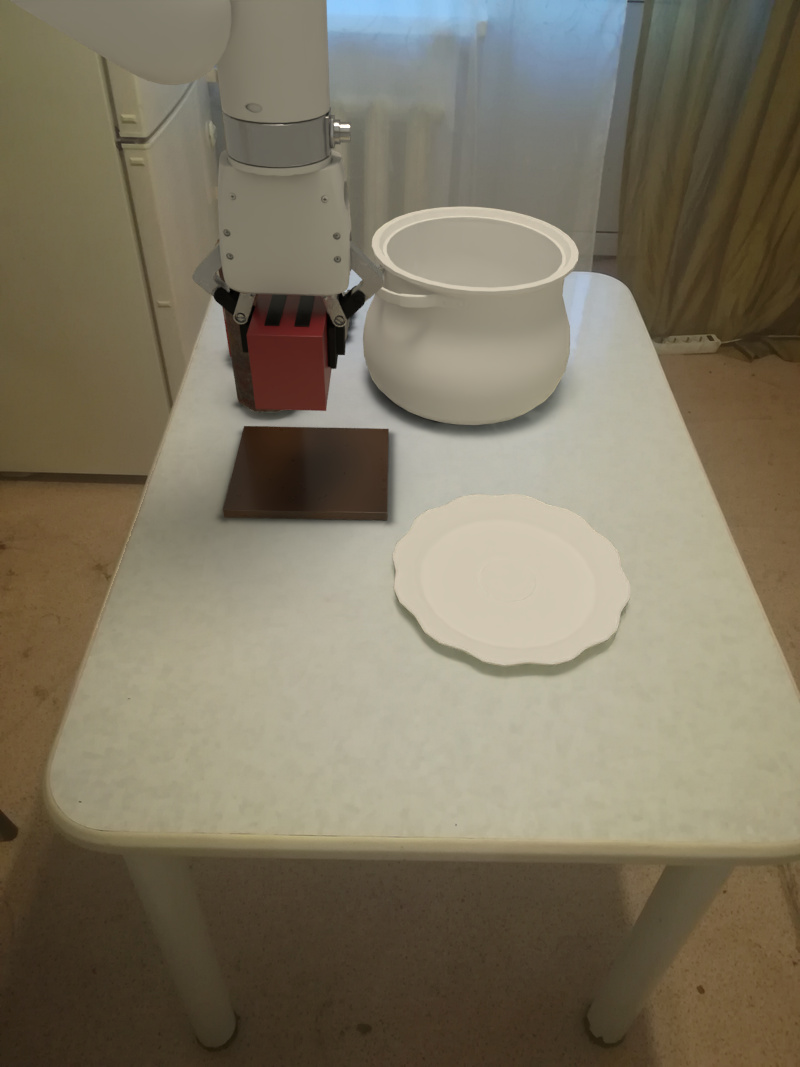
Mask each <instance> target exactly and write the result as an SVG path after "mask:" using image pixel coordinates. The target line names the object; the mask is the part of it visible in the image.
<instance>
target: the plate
mask: <svg viewBox="0 0 800 1067" xmlns="http://www.w3.org/2000/svg"><path fill="white" fill-rule="evenodd" d="M394 546H395V547H394V549H393V552H392V554H391V555H392V556H391V558H392V561H393V566H394V570H395V575H394V583H393V590H394V592H395V596H396V598H397V600H398V602H399V604H400V605H401V606H402V607H404V609H406V611H408V612H409V613H410V614H411V615H412V616H414V619H415V620H416V622H417V623H418V624H419V626H420V628H421V629H422V631H423V633H424V634H425V635H427V636H428V637H430V638H431V639H432V640H434V641H436V642H437V643H438V644H439V645H442V646H446V647H449V648H452V649H456V650H458V651H461V652H464V653H466V654H468V655H470V656H471V657H473V658H475V659H477V660H478V661H480V662H482V663H484V664H490V665H496V666H500V667H510V666H511V667H512V666H519V665H528V664H530V665H541V666H557V665H561V664H564V663H568V662H572V661H573V660H575V659H576V658H577V657H578V656H580V655H581V654H582V653H583V652H585V651H586V650H587V649H590V648H593V647H595V646H598V645H599V644H600V645H601V644H603V643H605V642H608V640H610V638H611V637H612V636H613V635H614V634H615V633H616V632H617V631H618V629H619V625H620V620H621V614H622V611H623V610H624V608H625V607H626V605H627V604H628V602H629V601H630V599H631V583H630V581H629V579H628V578H627V575H626V573H625V572H624V570H623V568H622V563H621V557H620V552H619V551H618V550H617V548H616V547H615V545H614V544H613V543H612V542H611V540H610V539H608V538H607V537H605V536H604V535H602V534H601V533H600V532H598V531H596V530H595V529H594V528H593V527H592V526H591V525H590V524H589V523H588V521H586V520H585V518H584V517H583V516H581V515H579V514H577V513H575V512H574V511H572V510H570V509H568V508H566V507H561V506H557V505H553V504H549V503H547V502H544V501H542V500H539V499H537V498H535V497H533V496H530V495H525V494H517V493H505V494H495V495H492V494H482V493H481V494H480V493H473V494H472V493H471V494H467V495H462V496H458V497H456V498H455V499H453V500H450V501H449V502H447V503H445V504H442V505H440V506H437V507H433V508H429V509H426V510H424V511H423V512H422V513H421V514H419V515H418V516H416V517H415V518H414V520H413V522H412V524H411V526H410V528H409V529H408V531H407V532H406V533H405V534H404V535H403V536H402V537H401V538H400V539H399V540H398V541H397V542H396V543H395V545H394Z"/></svg>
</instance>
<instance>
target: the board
mask: <svg viewBox="0 0 800 1067" xmlns="http://www.w3.org/2000/svg"><path fill="white" fill-rule="evenodd" d="M389 430H390V429H389V428H377V427H376V428H373V427H372V428H371V427H369V428H368V427H322V426H321V427H319V426H314V427H313V426H272V425H271V426H265V425H263V426H261V425H255V426H254V425H244V426H243V428H242V432H241V436H240V440H239V444H238V448H237V452H236V456H235V459H234V463H233V469H232V472H231V476H230V479H229V484H228V487H227V492H226V495H225V499H224V502H223V507H222V514H223V518H226V519H227V518H229V519H230V518H231V519H232V518H233V519H236V518H237V519H284V520H285V519H288V520H289V519H291V520H292V519H294V520H350V521H352V520H355V521H357V520H358V521H363V520H365V521H388V503H389V502H388V499H389V498H388V495H389V492H388V489H389V433H390V432H389Z"/></svg>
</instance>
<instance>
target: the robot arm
mask: <svg viewBox="0 0 800 1067" xmlns="http://www.w3.org/2000/svg"><path fill="white" fill-rule="evenodd" d="M9 1H10V2H11V3H13V4H14V5H16V6H18V7H19V8H21V9H23V10H24V11H26V12H28V14H31V15H32V16H34V17H35V18H37V19H39V20H40V21H42V22H44V23H45V24H47V25H49V26H51V27H52V28H54V29H55V30H57V31H59V32H60V33H63V34H64V35H66V36H68V37H69V38H70V39H73V40H74V41H76V42H78V43H79V44H81V45H83V46H84V47H86V48H88V49H89V50H91V51H93V52H94V53H96V54H98V55H99V56H100V57H103V58H104V59H105V60H108V61H109V62H111V63H112V64H114V65H116V66H118V67H119V68H120V69H123V70H125V71H127V72H129V73H130V74H133V75H134V76H136V77H138V78H140V79H143V80H145V81H147V82H151V83H156V84H157V85H164V86H179V85H186V84H191V83H193V82H194V81H198V80H200V79H202V78H203V77H204V76H206V75H208V74H209V73H210V72H211V71H212V70H213V69H214V68H215V67H216V73H217V80H218V88H219V89H218V90H219V98H220V106H221V114H222V122H223V130H224V140H225V145H226V149H224V150H222V151H221V152H220V155H219V159H218V170H217V171H218V172H217V218H218V219H217V221H218V239H219V242H218V244H217V245H216V246H215V245H214V246H213V248H212V249H211V250H210V251H209V252H208V253H207V255H206V256H205V257H204V258H203V259H202V260H201V262H199V263H198V265H197V266H196V267H195V270H194V272H193V273H192V276H191V278H192V280H193V282H194V283H195V284H197V286H199V287H200V288H201V289H203V291H204V292H206V293H207V294H208V295H211V296H212V297H213V300H214V301H215V302H216V303H218V304H219V305H220V306H221V307H223V308H225V309H226V310H227V311H228V312H229V313H230V314H232V315H233V318H234V321H235V322H236V323H238V324H239V326H240V334H241V342H242V350H243V352H244V353H249V351H248V343H247V332H248V328H249V325H250V322H251V319H252V315H253V312H254V309H255V306H254V305H253V302H254V299H255V296H256V294H270V295H305V296H320V297H321V299H322V301H323V303H324V305H325V307H326V310H327V312H328V314H329V316H328V323H327V350H328V367H330V369H332V370H336V369H337V367H338V360H339V356H345V355H346V340H345V324H346V322H347V320H348V319H349V318H350V319H351V317H353V316H354V315H355V314H356V313H357V312H358V311H359V310H360V309H361V308H363V307H364V306H365V303H366V302H367V301H368V300H369V299H371V298H372V297H374V296H375V293H376V292H378V291H379V290H380V289H381V288H382V287H383V285H384V274H383V273H382V272H381V271H380V270H379V268H378V267H379V266H377V265H376V264H375V263H374V262H373V261H372V260H371V259H370V258H369V257H368V256H367V255H366V254H365V253H364V252H363V251H362V250H361V249H360V248H359V247H358V246H357V245H356V244H355V243H354V242H353V237H352V218H351V205H350V196H349V186H348V181H347V175H346V174H347V173H346V169H345V165H344V164H345V163H344V160H343V156H342V154H341V153H340V152H338V151H336V150H334V149H335V148H336V145H341V143H342V144H343V143H344V144H345V143H346V144H347V143H348V144H351V143H352V122H351V121H341V118H340V119H338V118H336V117H335V116H336V115H335V114H332V106H331V99H330V98H331V96H330V95H331V94H330V66H329V64H330V63H329V37H328V36H329V35H328V34H329V32H328V4H327V2H328V1H327V0H9ZM221 267H222V271H223V276H224V280H225V281H222V280H221V278H220V276H219V274H218V273H217V272H219V271H218V270H219V269H220V268H221ZM351 271H353V272H354V273H356V275H357V276H358V277H359V278H360V279H361V280H360V281H359V283H357V285H354V286H353V287H352V288H351V289H349V290H350V291H349V292H348V293H346V294H345V295H344V293H343V292H347V290H348V288H349V285H350V277H351ZM239 292H240V293H239ZM223 308H222V309H223Z"/></svg>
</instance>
